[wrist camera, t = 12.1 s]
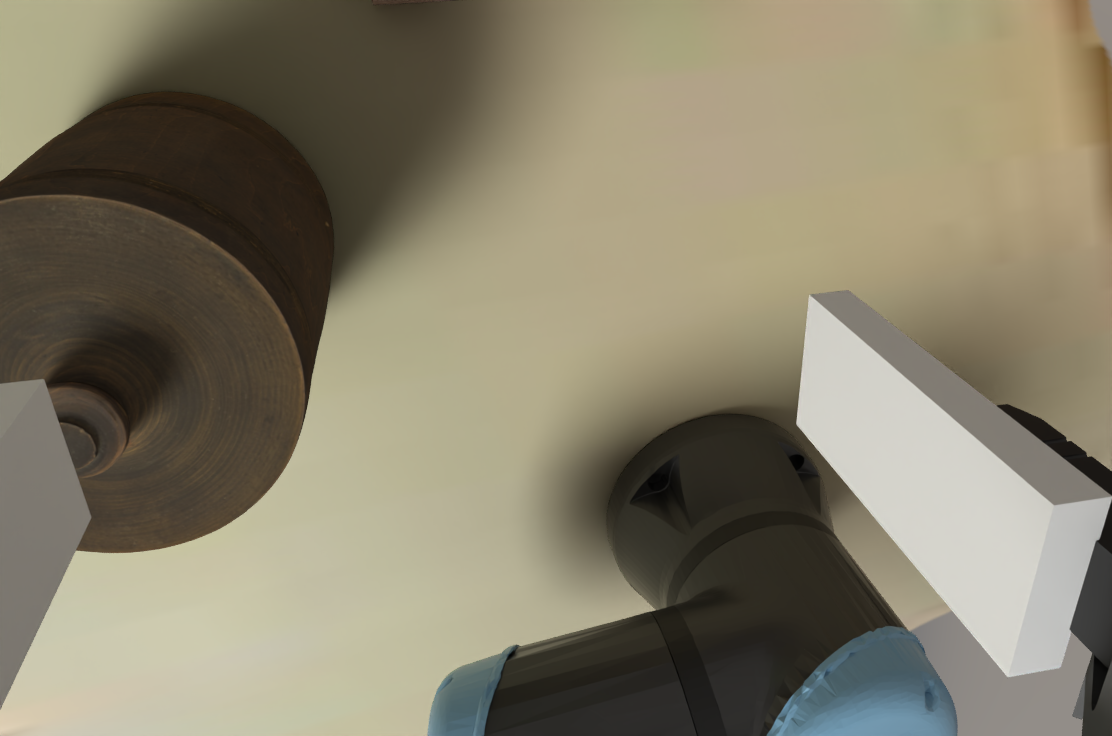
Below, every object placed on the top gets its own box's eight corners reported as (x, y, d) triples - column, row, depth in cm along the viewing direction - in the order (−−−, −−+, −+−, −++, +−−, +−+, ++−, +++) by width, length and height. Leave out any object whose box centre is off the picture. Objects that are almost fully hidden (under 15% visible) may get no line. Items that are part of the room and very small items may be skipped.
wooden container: (-14, 260, 46) (-292, 504, 27) (133, 26, 43) (-65, 114, 23) (240, 402, 52) (163, 683, 33) (388, 207, 49) (397, 395, 30)
